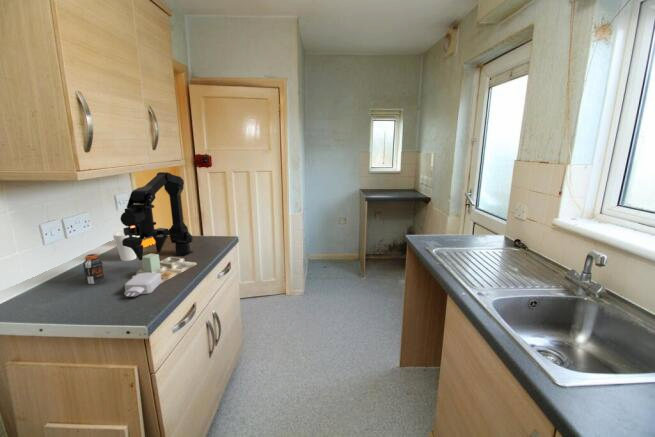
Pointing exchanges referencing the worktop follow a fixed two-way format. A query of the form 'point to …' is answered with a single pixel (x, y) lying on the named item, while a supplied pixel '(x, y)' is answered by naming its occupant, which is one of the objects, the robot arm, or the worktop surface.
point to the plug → (150, 262)
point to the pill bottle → (93, 269)
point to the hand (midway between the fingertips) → (149, 256)
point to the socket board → (170, 267)
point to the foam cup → (123, 247)
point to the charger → (142, 284)
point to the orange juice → (147, 241)
